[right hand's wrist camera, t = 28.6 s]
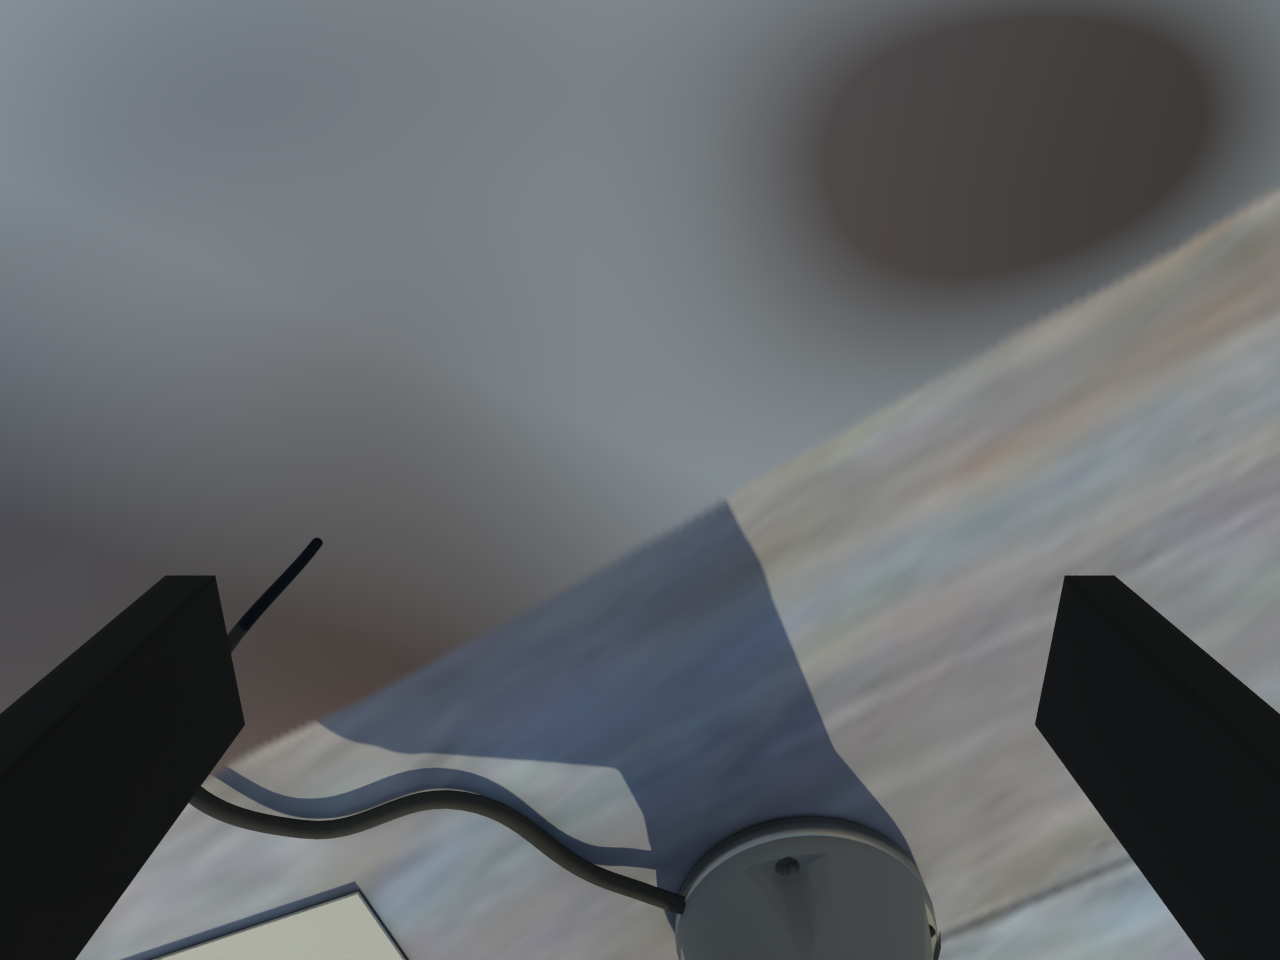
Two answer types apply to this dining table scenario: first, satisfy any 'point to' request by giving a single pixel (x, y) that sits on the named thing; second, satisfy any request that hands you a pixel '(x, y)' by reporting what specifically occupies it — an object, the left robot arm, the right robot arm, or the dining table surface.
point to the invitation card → (305, 937)
